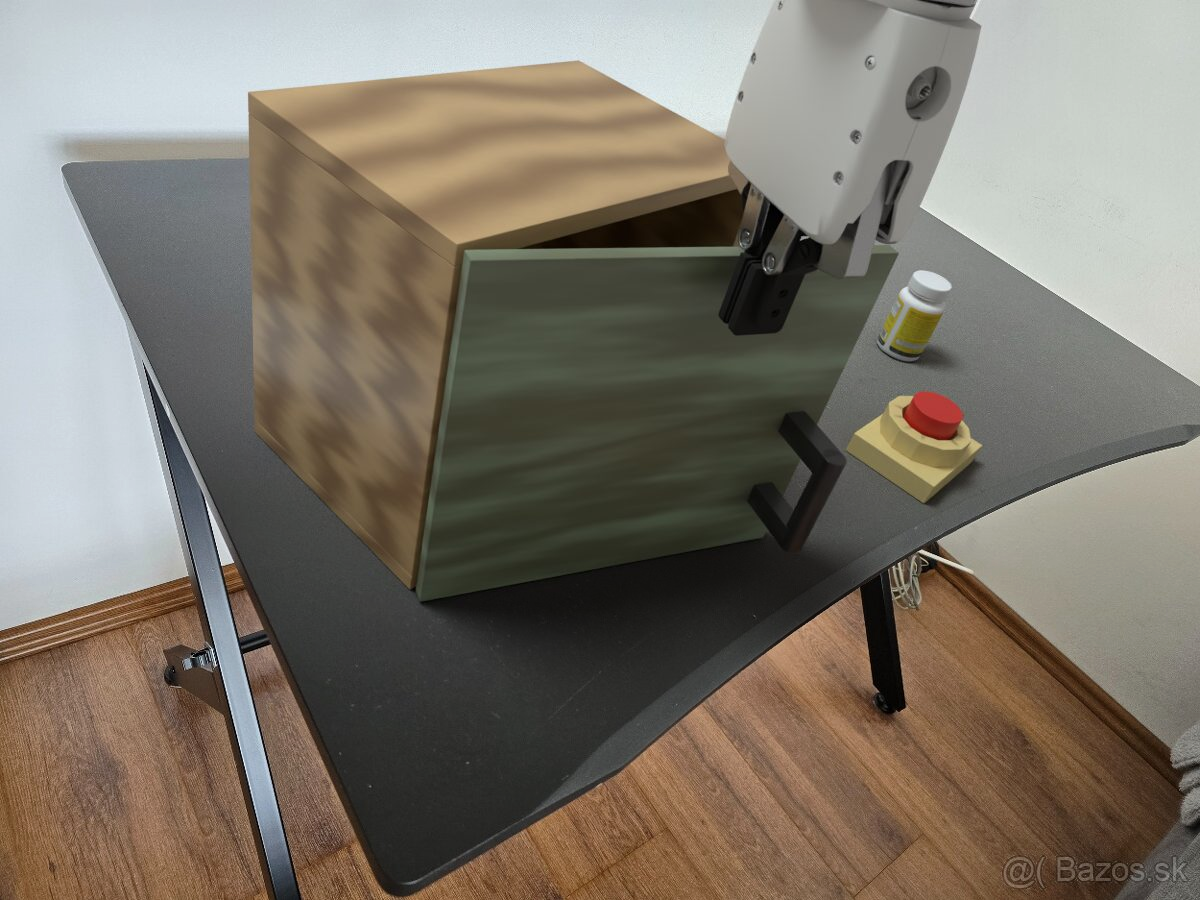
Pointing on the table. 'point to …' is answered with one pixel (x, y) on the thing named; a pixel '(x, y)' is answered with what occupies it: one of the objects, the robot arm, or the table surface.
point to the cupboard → (434, 250)
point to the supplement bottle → (914, 316)
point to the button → (933, 415)
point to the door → (627, 412)
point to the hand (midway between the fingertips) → (748, 325)
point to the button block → (912, 452)
